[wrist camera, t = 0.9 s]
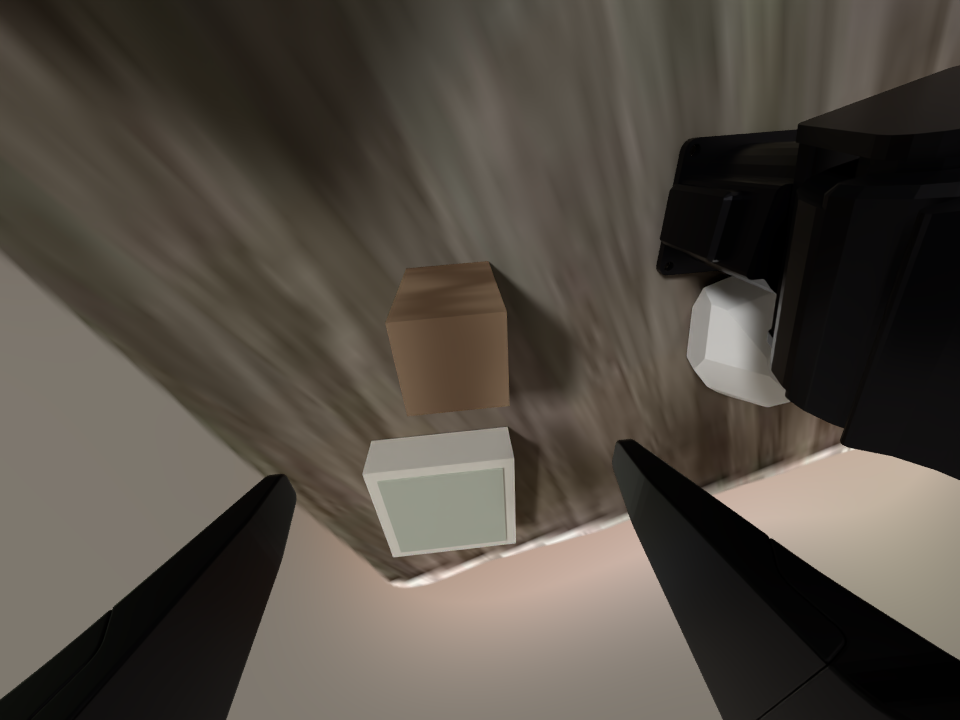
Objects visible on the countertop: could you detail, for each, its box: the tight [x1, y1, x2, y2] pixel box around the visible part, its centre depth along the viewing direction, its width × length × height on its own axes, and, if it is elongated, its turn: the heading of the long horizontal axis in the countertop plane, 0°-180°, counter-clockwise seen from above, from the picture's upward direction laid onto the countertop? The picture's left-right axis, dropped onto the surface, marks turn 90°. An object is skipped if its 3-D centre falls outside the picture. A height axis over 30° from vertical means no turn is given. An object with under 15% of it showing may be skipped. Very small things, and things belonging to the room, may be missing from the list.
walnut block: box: [385, 261, 509, 416], centre depth 17 cm, size 4×4×7 cm
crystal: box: [687, 276, 791, 407], centre depth 19 cm, size 7×7×24 cm
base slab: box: [363, 427, 516, 557], centre depth 26 cm, size 10×10×3 cm
